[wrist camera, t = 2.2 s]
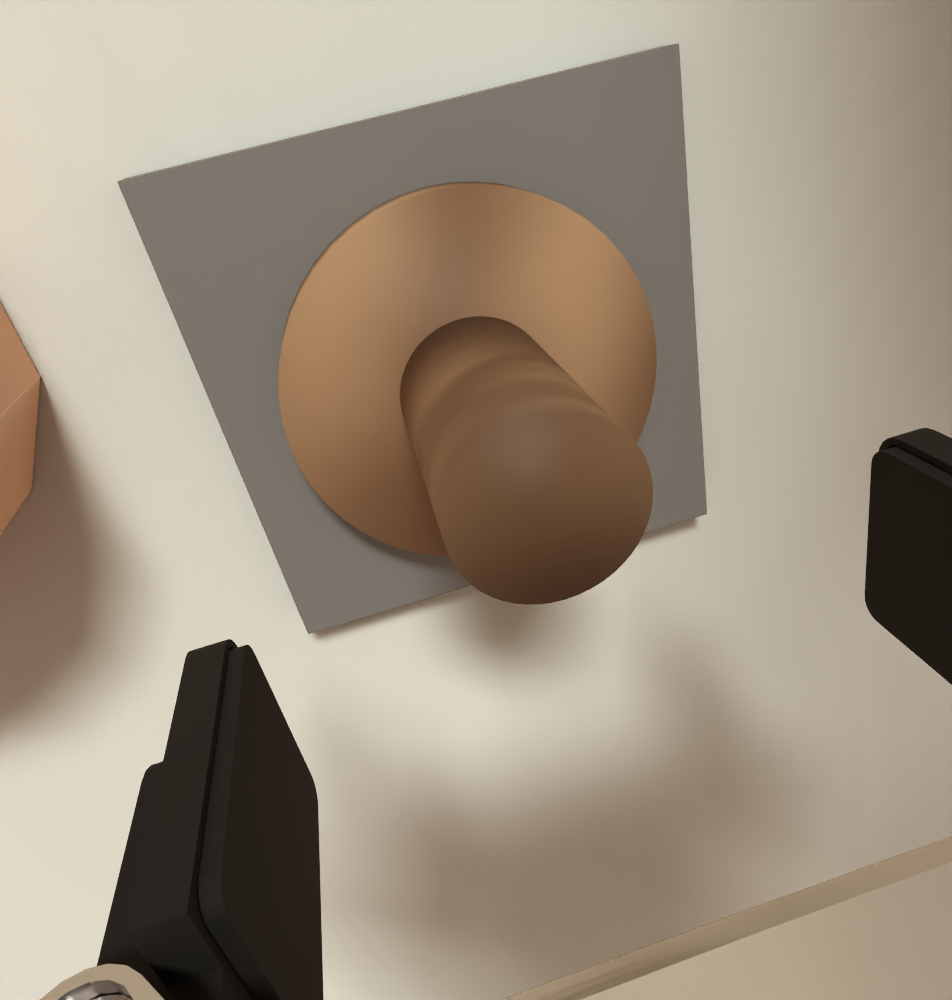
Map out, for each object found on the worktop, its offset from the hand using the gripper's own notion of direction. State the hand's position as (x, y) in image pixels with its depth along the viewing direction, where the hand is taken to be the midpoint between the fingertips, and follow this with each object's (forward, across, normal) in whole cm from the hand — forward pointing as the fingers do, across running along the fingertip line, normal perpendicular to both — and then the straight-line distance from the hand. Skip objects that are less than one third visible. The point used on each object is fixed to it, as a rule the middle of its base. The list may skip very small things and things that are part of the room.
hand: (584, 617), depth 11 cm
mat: (+10, 0, -1) cm, 10 cm away
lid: (+9, 0, -1) cm, 9 cm away
